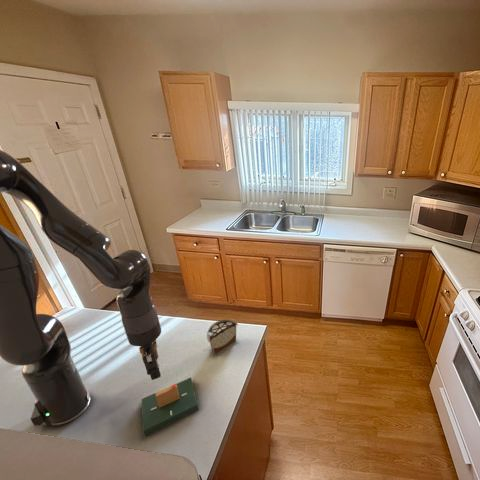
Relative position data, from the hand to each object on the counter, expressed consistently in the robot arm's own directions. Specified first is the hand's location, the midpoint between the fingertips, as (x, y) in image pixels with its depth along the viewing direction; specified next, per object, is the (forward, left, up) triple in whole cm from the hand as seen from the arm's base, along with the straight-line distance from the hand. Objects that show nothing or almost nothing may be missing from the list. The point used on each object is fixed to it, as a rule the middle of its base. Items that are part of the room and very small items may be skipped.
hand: (154, 366), depth 74 cm
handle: (+1, -2, -14) cm, 14 cm away
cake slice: (+21, +15, -16) cm, 31 cm away
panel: (+1, -2, -16) cm, 16 cm away
